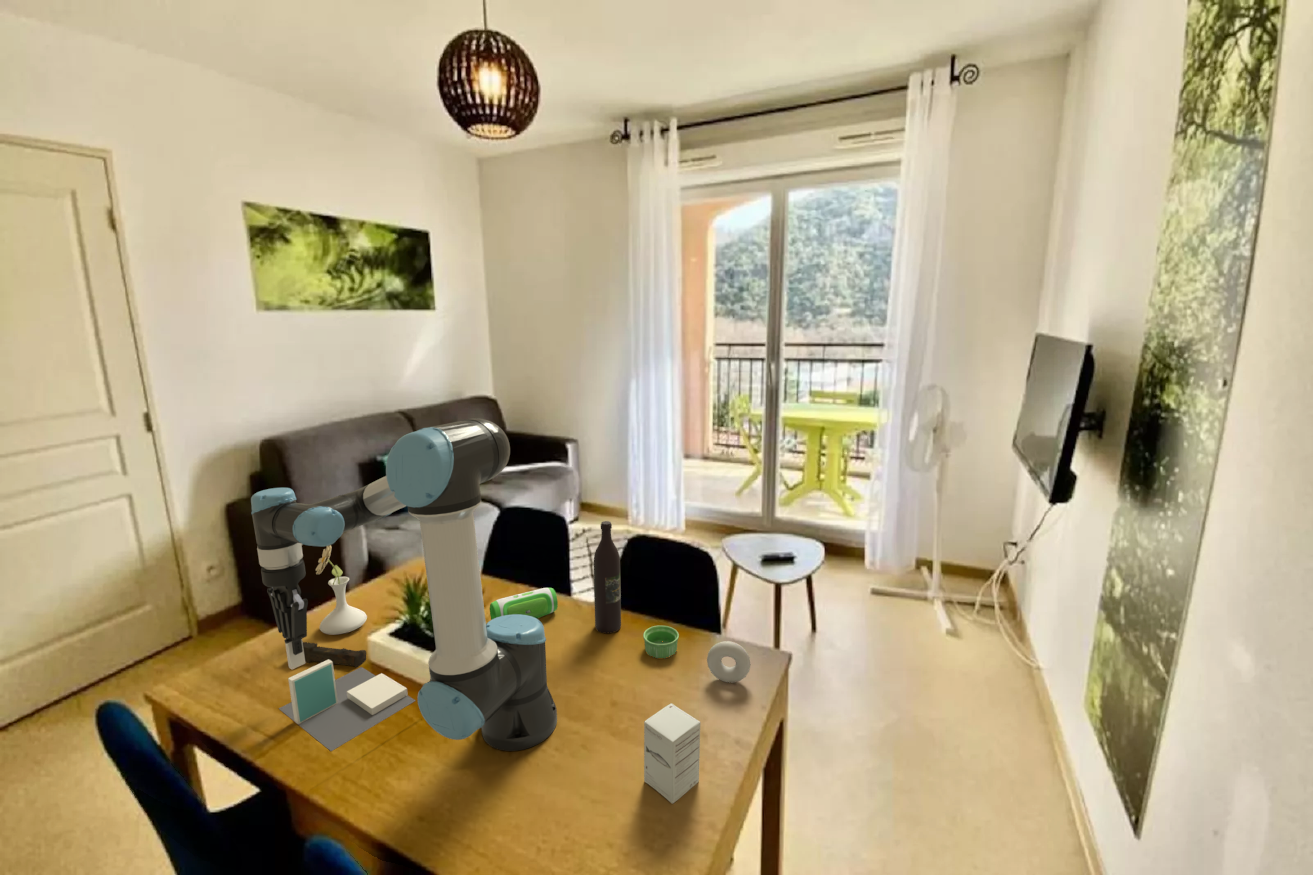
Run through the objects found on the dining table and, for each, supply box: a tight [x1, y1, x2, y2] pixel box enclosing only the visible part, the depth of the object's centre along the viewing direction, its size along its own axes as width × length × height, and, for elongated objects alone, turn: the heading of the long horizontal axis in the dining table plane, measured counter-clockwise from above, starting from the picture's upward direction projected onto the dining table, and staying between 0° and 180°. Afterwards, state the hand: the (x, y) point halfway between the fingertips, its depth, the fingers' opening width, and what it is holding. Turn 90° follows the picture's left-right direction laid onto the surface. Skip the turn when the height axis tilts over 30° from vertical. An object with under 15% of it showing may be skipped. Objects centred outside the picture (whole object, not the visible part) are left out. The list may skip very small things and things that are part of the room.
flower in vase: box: [315, 544, 368, 636], centre depth 151 cm, size 13×11×25 cm
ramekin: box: [642, 625, 680, 659], centre depth 143 cm, size 9×9×4 cm
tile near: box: [287, 659, 338, 725], centre depth 119 cm, size 2×8×10 cm, turn 146°
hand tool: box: [302, 641, 367, 669], centre depth 138 cm, size 19×4×5 cm, turn 78°
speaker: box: [489, 587, 559, 620], centre depth 158 cm, size 18×7×8 cm, turn 121°
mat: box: [278, 666, 417, 752], centre depth 122 cm, size 22×18×1 cm
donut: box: [706, 640, 752, 683], centre depth 130 cm, size 10×4×10 cm, turn 76°
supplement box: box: [643, 702, 701, 805], centre depth 101 cm, size 7×7×13 cm
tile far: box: [347, 672, 409, 715], centre depth 124 cm, size 2×8×10 cm
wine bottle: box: [593, 520, 622, 634], centre depth 151 cm, size 7×7×30 cm
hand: (297, 665), depth 122 cm, fingers closed
